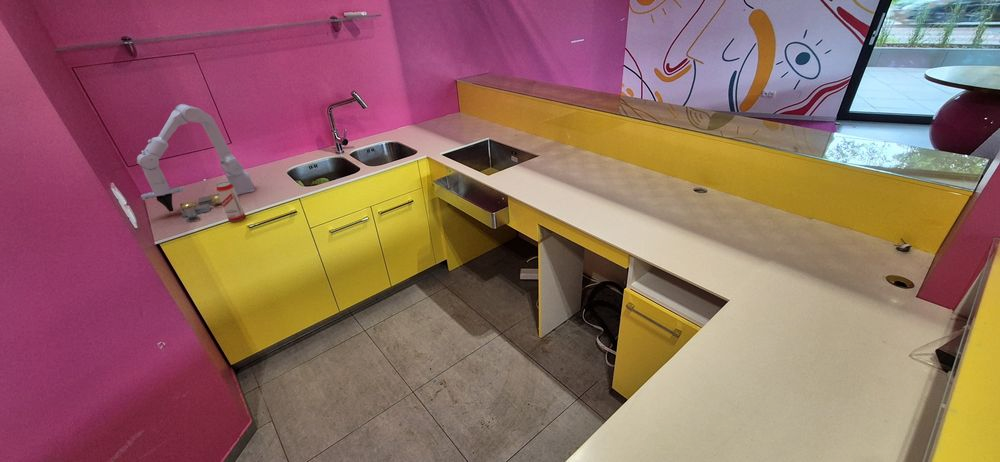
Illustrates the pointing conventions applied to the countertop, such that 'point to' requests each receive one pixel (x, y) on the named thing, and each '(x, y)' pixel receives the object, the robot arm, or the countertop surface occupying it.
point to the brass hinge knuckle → (196, 208)
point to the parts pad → (192, 220)
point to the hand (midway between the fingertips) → (171, 210)
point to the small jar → (189, 210)
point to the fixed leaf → (210, 200)
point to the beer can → (230, 201)
